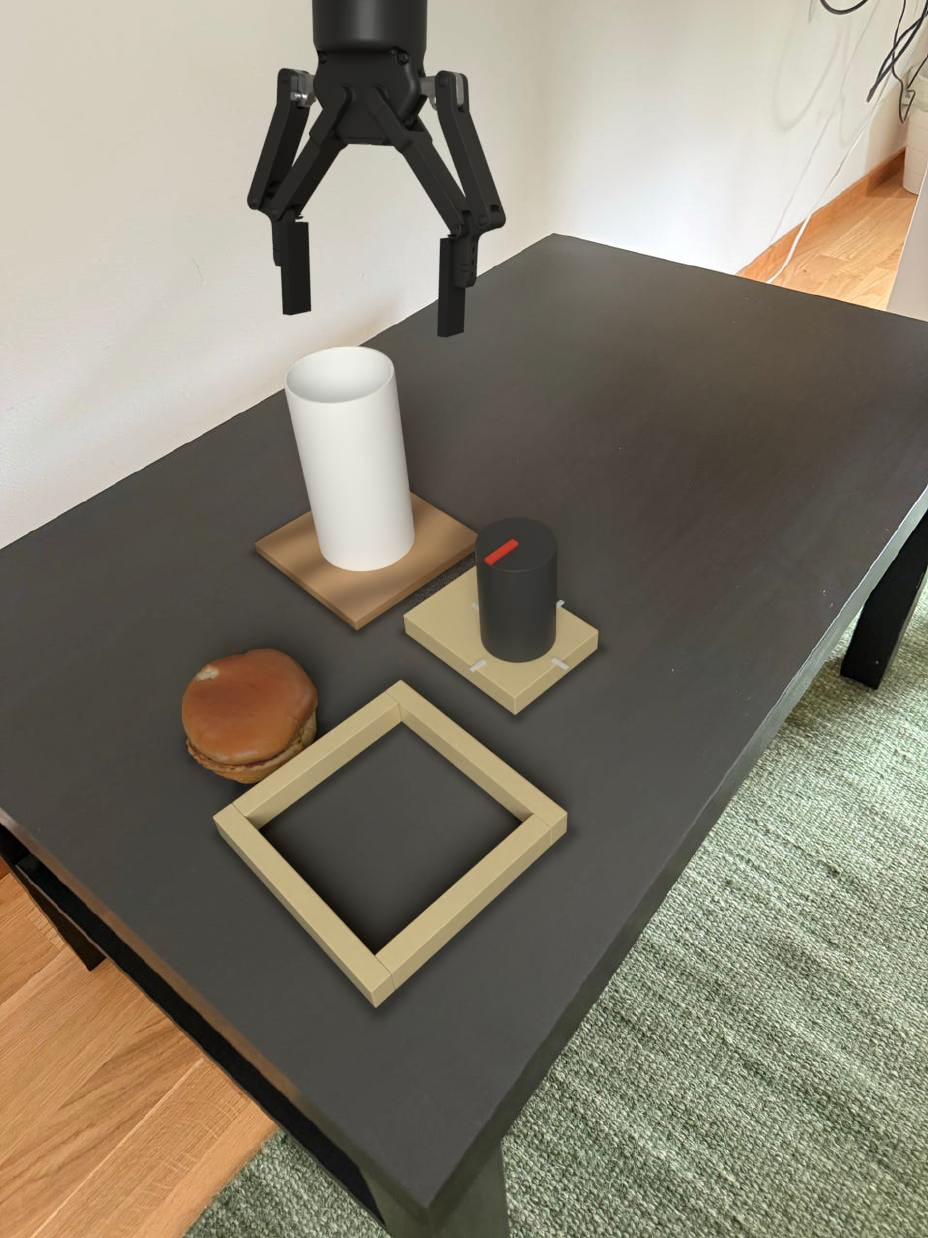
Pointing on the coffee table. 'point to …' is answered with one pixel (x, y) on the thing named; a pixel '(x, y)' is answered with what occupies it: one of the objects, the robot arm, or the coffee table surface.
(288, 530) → the trivet
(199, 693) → the burger
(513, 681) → the panel
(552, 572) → the burner knob
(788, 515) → the coffee table surface
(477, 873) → the square frame
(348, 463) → the cup
